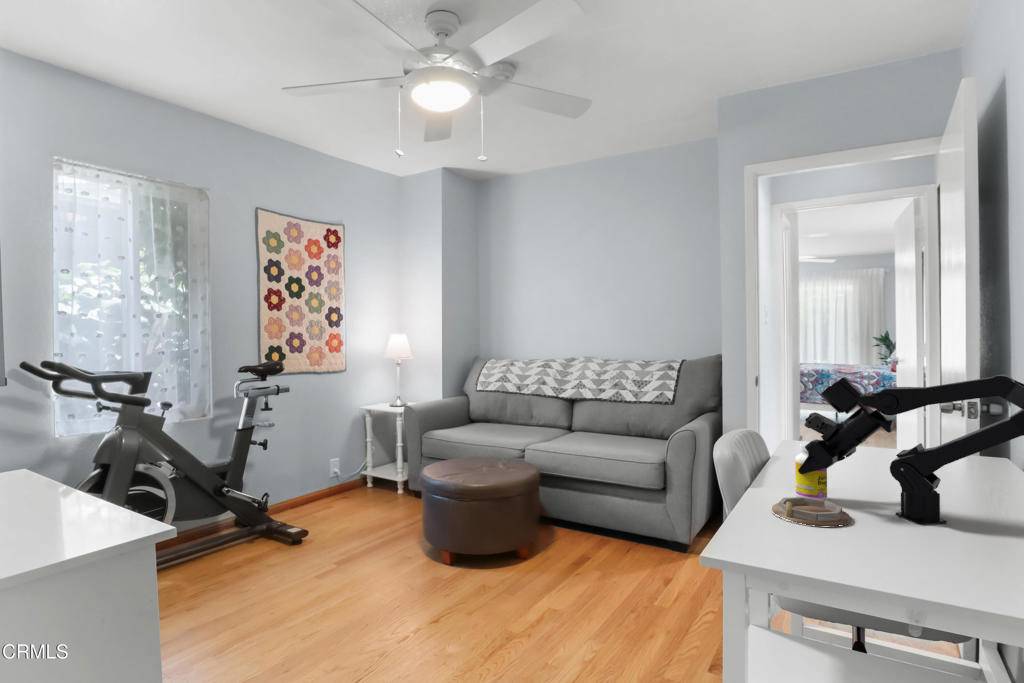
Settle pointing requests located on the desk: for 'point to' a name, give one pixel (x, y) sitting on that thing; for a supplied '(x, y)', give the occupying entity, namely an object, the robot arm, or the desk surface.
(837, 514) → the collar plate
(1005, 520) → the desk surface
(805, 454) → the supplement bottle
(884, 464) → the desk surface
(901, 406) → the robot arm
